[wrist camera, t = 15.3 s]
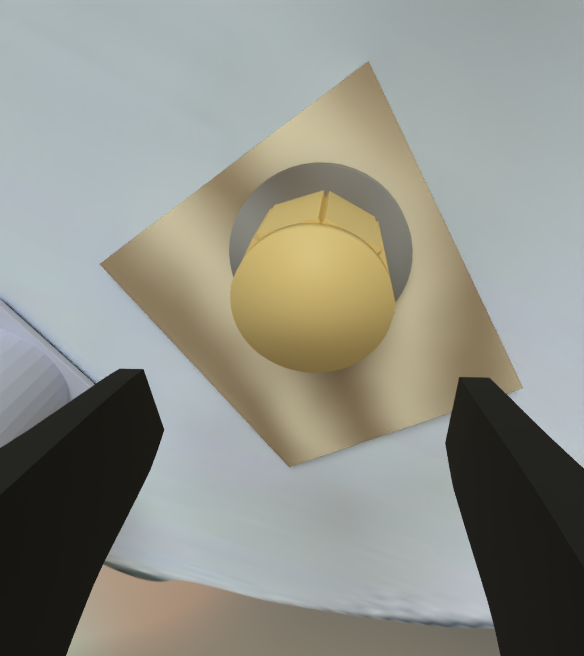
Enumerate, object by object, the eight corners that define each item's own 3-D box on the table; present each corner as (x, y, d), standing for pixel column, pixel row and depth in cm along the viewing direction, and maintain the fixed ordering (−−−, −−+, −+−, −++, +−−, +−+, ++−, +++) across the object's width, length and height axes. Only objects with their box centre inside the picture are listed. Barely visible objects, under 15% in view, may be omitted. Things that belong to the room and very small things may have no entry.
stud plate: (290, 456, 25) (283, 504, 22) (108, 257, 19) (66, 289, 16) (517, 377, 20) (545, 427, 17) (367, 61, 13) (372, 57, 11)
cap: (411, 237, 15) (430, 282, 12) (340, 335, 18) (338, 394, 15) (289, 167, 14) (272, 195, 11) (234, 282, 17) (207, 331, 14)
